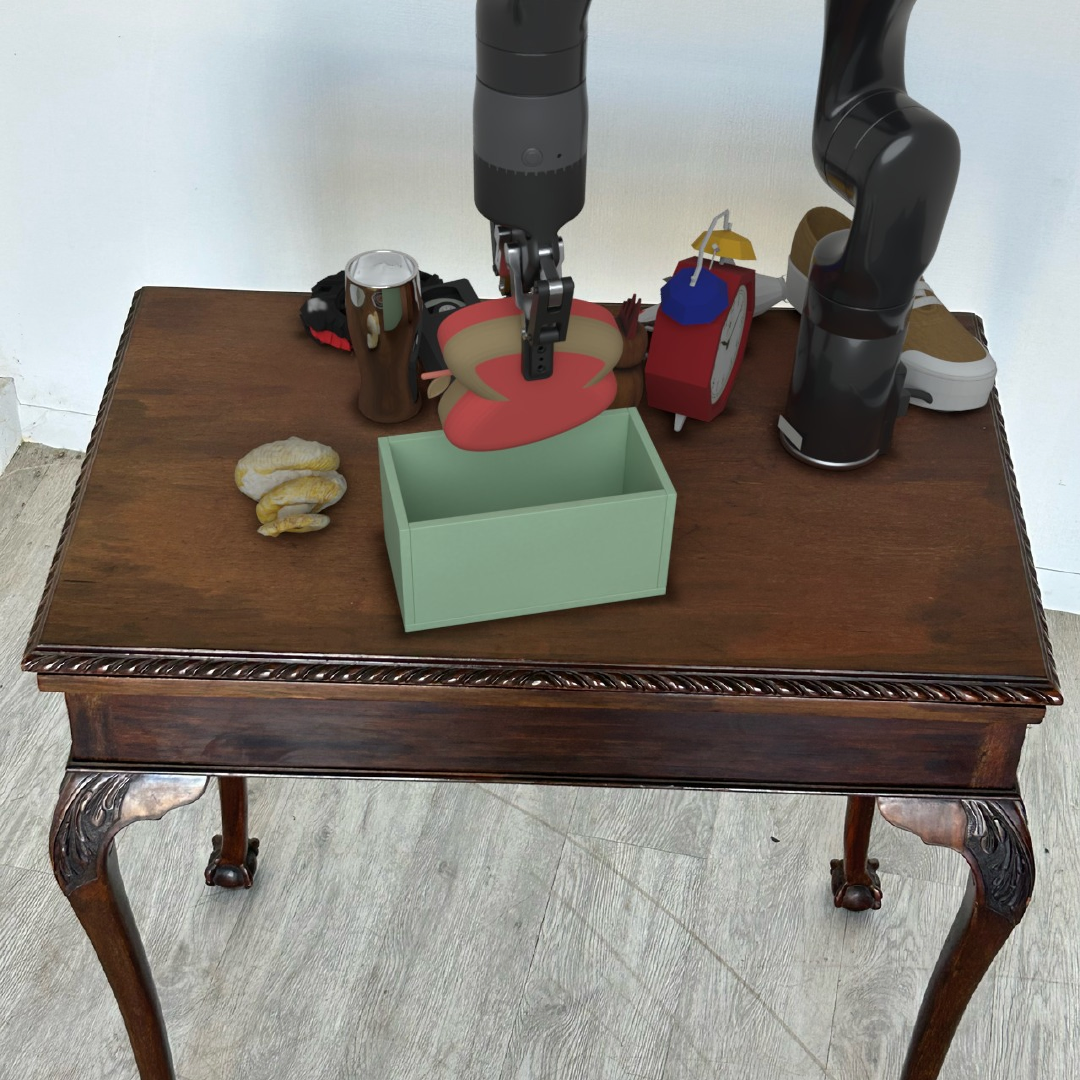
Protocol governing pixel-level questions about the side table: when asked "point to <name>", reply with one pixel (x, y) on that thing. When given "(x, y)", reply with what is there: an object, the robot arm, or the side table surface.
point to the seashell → (291, 484)
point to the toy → (336, 310)
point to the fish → (765, 296)
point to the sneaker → (909, 329)
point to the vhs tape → (441, 319)
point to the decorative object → (521, 376)
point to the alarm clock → (701, 328)
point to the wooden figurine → (630, 356)
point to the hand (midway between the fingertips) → (527, 357)
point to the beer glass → (385, 332)
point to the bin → (525, 522)
